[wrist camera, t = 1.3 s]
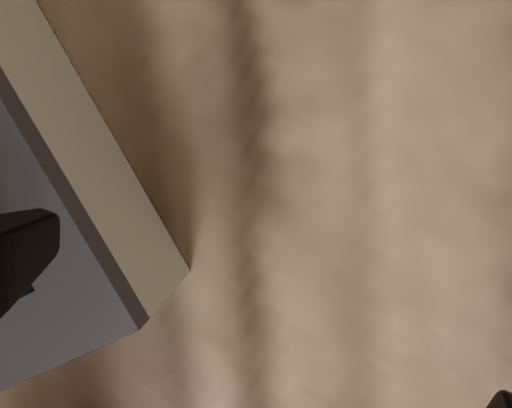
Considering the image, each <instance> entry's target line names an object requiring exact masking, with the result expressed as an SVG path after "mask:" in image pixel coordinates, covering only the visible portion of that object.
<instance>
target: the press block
mask: <svg viewBox="0 0 512 408" xmlns="http://www.w3.org/2000/svg"><path fill="white" fill-rule="evenodd" d="M34 208H44V209H46V210H49V211H51V212H54V213H56V214H57V215H58V216H59V218H60V248H59V252H58V254H57V255H56V257H55V258H54V260H53V261H52V262H51V263H50V264H49V265H48V266H47V268H46V269H45V270H44V271H43V272H42V273H41V275H40V276H39V277H38V278H37V279H36V280H35V281H34V283H33V284H32V285H31V286H30V287H29V288H28V290H27V291H26V292H25V293H24V294H23V295H22V296H21V298H20V299H19V300H18V301H17V302H16V303H15V304H14V305H13V307H12V308H11V309H10V310H9V311H8V312H7V313H6V314H5V315H4V316H3V317H2V318H1V319H0V391H2V390H5V389H7V388H9V387H11V386H14V385H16V384H18V383H20V382H23V381H25V380H27V379H30V378H32V377H34V376H36V375H39V374H41V373H43V372H46V371H48V370H50V369H52V368H55V367H57V366H59V365H61V364H64V363H66V362H68V361H71V360H73V359H75V358H77V357H80V356H82V355H84V354H86V353H89V352H91V351H93V350H96V349H98V348H100V347H102V346H105V345H107V344H109V343H112V342H114V341H116V340H118V339H121V338H123V337H125V336H127V335H130V334H132V333H134V332H137V331H139V330H140V329H141V328H142V327H143V325H144V324H145V323H146V322H147V321H148V320H149V319H150V317H151V316H152V315H153V314H154V313H155V312H156V310H157V309H158V308H159V307H160V306H161V305H162V304H163V302H164V301H165V300H166V299H167V298H168V297H169V296H170V294H171V293H172V292H173V291H174V290H175V289H176V288H177V286H178V285H179V284H180V283H181V282H182V281H183V280H184V278H185V277H186V276H187V275H188V274H189V273H190V272H191V271H190V270H189V268H188V266H187V264H186V263H185V261H184V259H183V257H182V256H181V254H180V252H179V250H178V249H177V247H176V245H175V243H174V242H173V240H172V238H171V236H170V235H169V233H168V231H167V229H166V228H165V226H164V224H163V222H162V221H161V219H160V217H159V215H158V214H157V212H156V210H155V208H154V207H153V205H152V203H151V201H150V200H149V198H148V196H147V194H146V193H145V191H144V189H143V187H142V186H141V184H140V182H139V180H138V179H137V177H136V175H135V173H134V172H133V170H132V168H131V166H130V165H129V163H128V161H127V160H126V158H125V156H124V154H123V153H122V151H121V149H120V147H119V146H118V144H117V142H116V140H115V139H114V137H113V135H112V133H111V132H110V130H109V128H108V126H107V125H106V123H105V121H104V119H103V118H102V116H101V114H100V112H99V111H98V109H97V107H96V105H95V104H94V102H93V100H92V98H91V97H90V95H89V93H88V91H87V90H86V88H85V86H84V84H83V83H82V81H81V79H80V77H79V76H78V74H77V72H76V70H75V69H74V67H73V65H72V63H71V62H70V60H69V58H68V56H67V55H66V53H65V51H64V49H63V48H62V46H61V44H60V42H59V41H58V39H57V37H56V35H55V34H54V32H53V30H52V28H51V27H50V25H49V23H48V21H47V20H46V18H45V16H44V14H43V13H42V11H41V9H40V7H39V6H38V4H37V2H36V0H0V214H3V213H9V212H15V211H22V210H28V209H34Z"/></svg>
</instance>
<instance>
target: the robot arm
mask: <svg viewBox="0 0 512 408" xmlns="http://www.w3.org/2000/svg"><path fill="white" fill-rule="evenodd" d="M59 248H60V218H59V216H58V215H57V214H56V213H54V212H51V211H49V210H46V209H44V208H34V209H28V210H22V211H15V212H9V213H3V214H0V319H1V318H2V317H3V316H4V315H5V314H6V313H7V312H8V311H9V310H10V309H11V308H12V307H13V305H14V304H15V303H16V302H17V301H18V300H19V299H20V298H21V296H22V295H23V294H24V293H25V292H26V291H27V290H28V288H29V287H30V286H31V285H32V284H33V283H34V281H35V280H36V279H37V278H38V277H39V276H40V275H41V273H42V272H43V271H44V270H45V269H46V268H47V266H48V265H49V264H50V263H51V262H52V261H53V260H54V258H55V257H56V255H57V254H58V252H59ZM486 408H512V393H511V392H508V391H506V390H500V391H498V392H497V393H496V394H495V396H494V397H493V398H492V400H491V401H490V403H489V404H488V406H487V407H486Z"/></svg>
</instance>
